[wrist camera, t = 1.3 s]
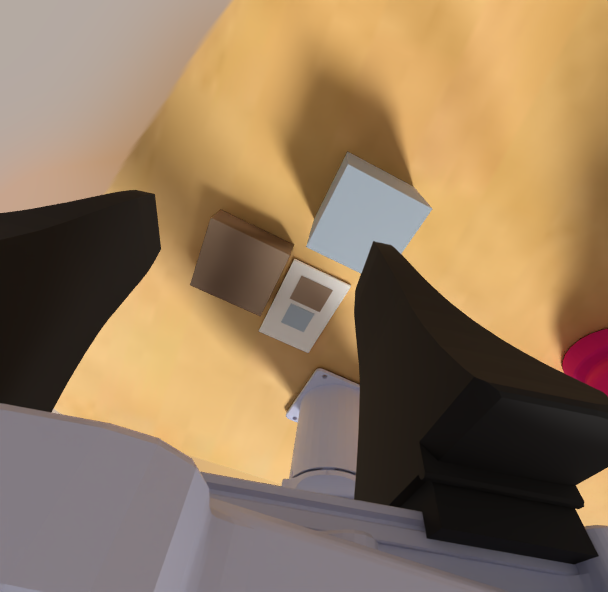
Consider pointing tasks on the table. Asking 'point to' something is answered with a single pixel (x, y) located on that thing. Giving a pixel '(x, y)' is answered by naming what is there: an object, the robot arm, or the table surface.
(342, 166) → the gray brick
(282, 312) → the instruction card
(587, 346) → the pepper mill
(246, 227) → the base brick
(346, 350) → the table surface
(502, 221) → the table surface
